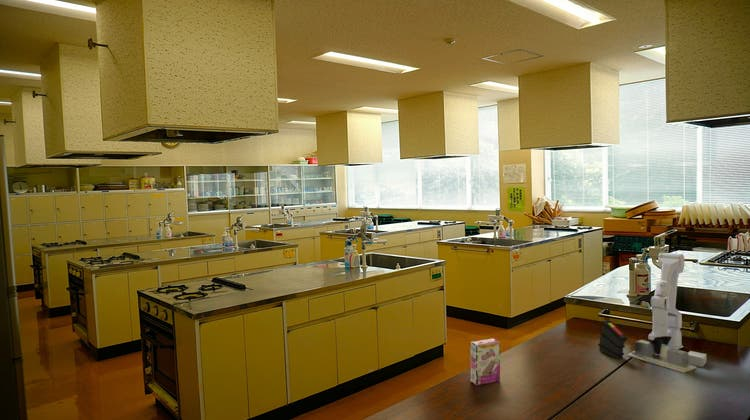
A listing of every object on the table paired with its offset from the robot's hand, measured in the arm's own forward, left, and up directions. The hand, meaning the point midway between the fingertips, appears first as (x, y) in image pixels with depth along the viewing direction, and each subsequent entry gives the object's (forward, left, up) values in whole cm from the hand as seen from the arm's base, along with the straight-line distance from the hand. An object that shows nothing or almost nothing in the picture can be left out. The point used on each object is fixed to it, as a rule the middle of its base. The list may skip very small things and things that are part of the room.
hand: (659, 352), depth 215 cm
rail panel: (+6, +4, -2) cm, 8 cm away
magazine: (+16, -12, -2) cm, 20 cm away
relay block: (-4, +13, -2) cm, 14 cm away
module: (0, 0, -2) cm, 2 cm away
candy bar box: (+83, -22, -2) cm, 86 cm away
